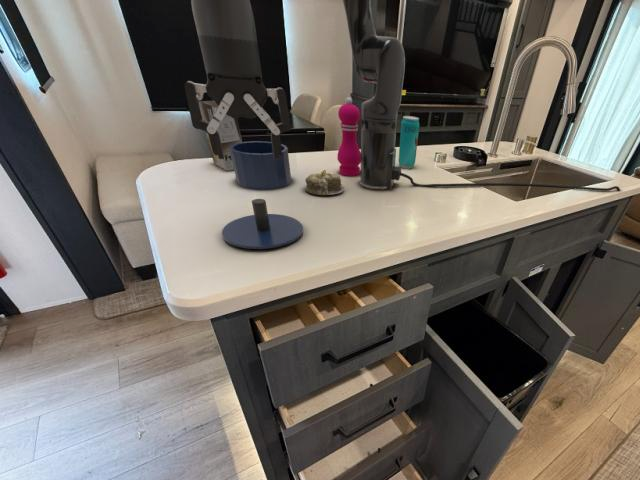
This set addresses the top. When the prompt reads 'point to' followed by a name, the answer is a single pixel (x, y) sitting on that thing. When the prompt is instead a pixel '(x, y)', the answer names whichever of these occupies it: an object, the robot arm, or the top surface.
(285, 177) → the tin
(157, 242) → the top surface
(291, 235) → the lid
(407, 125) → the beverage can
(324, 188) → the cake
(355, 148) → the pepper mill
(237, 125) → the coffee box
